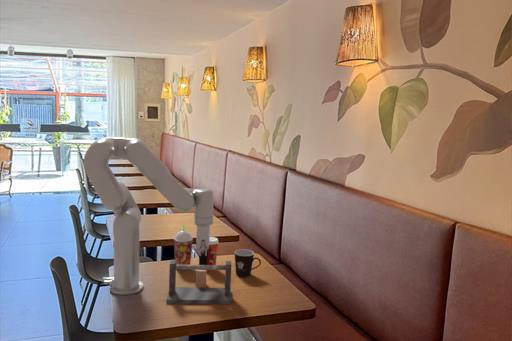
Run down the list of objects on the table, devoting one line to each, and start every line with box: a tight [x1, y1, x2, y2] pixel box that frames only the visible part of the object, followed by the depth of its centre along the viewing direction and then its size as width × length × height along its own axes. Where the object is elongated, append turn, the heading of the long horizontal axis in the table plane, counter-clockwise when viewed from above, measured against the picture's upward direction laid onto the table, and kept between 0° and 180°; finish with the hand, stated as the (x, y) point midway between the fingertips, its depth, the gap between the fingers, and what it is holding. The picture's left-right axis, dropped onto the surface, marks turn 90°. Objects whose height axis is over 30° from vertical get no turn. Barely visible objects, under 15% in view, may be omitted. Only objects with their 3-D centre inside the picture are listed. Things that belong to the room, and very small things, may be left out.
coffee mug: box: [234, 248, 262, 278], centre depth 188 cm, size 12×9×10 cm
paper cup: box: [206, 236, 219, 272], centre depth 193 cm, size 8×8×14 cm
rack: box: [166, 259, 232, 305], centre depth 164 cm, size 24×11×14 cm, turn 95°
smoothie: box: [173, 223, 194, 271], centre depth 192 cm, size 8×8×20 cm
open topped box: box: [195, 270, 207, 287], centre depth 175 cm, size 4×5×8 cm
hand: (203, 260), depth 174 cm, fingers open, 9 cm apart
